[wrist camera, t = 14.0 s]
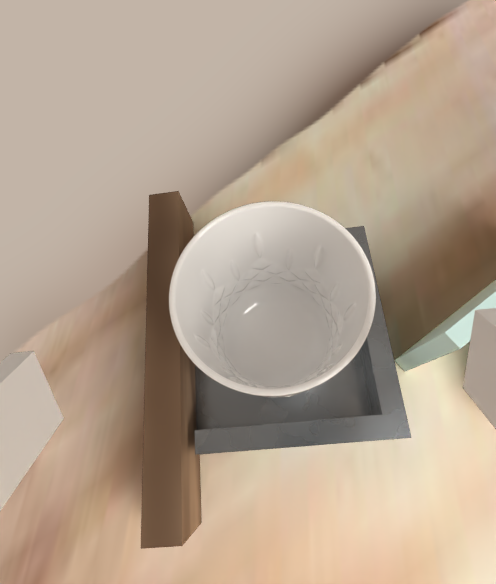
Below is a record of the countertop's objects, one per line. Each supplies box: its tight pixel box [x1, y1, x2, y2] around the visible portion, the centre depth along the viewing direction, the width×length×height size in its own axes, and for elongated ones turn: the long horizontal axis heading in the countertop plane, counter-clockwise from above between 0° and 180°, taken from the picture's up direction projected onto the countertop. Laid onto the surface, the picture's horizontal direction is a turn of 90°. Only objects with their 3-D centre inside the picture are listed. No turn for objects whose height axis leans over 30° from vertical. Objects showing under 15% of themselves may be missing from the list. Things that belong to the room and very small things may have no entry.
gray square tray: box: [195, 226, 411, 455], centre depth 22 cm, size 12×12×3 cm
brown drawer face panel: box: [141, 191, 201, 548], centre depth 22 cm, size 2×20×4 cm, turn 5°
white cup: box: [169, 201, 376, 398], centre depth 18 cm, size 8×8×10 cm
